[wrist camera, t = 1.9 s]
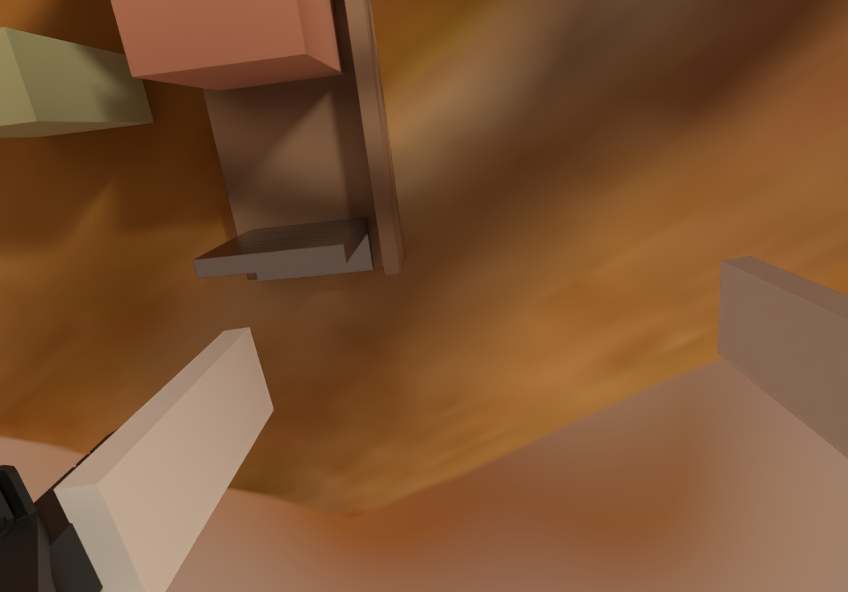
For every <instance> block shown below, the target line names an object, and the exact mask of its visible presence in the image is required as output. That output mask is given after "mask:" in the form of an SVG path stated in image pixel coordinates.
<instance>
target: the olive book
mask: <svg viewBox="0 0 848 592" xmlns="http://www.w3.org/2000/svg"><path fill="white" fill-rule="evenodd" d="M148 123H154V121H153V117H152V114H151V110H150V106H149V103H148V99H147V95H146V92H145V88H144V84H143V81H142V79H141V78H135V77H132V75H131V72H130V68H129V64H128V61H127V57H126V55H125V54H120V53H116V52H111V51H107V50H103V49H98V48H94V47H89V46H85V45H80V44H76V43H72V42H67V41H63V40H58V39H54V38H50V37H45V36H41V35H36V34H32V33H28V32H23V31H19V30H14V29H10V28H5V27H4V28H0V138H21V137H45V136H53V135H61V134H69V133H77V132H85V131H93V130H101V129H109V128H117V127H125V126H133V125H140V124H148Z"/></svg>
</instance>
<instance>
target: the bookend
mask: <svg viewBox="0 0 848 592" xmlns="http://www.w3.org/2000/svg"><path fill="white" fill-rule="evenodd" d="M193 262H194V265H195V269H196V273H197V276H198V278H206V277H216V276H226V275H235V274H245V273H255V272H256V274H257V278H258V281H268V280H278V279H288V278H298V277H308V276H318V275H328V274H338V273H348V272H358V271H368V270H373V269H374V263H373V257H372V250H371V244H370V237H369V230H368V224H367V217H363V218H353V219H344V220H335V221H326V222H316V223H307V224H298V225H289V226H279V227H270V228H261V229H252V230H248V231H247V232H245V233H243V234H241V235H239V236H237V237H235V238H233V239H232V240H230V241H228V242H226V243H224V244H222V245H220V246H219V247H217V248H215V249H213V250H211V251H209V252H207V253H205V254H204V255H202V256H200V257H198V258H196V259H194V260H193Z"/></svg>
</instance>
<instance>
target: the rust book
mask: <svg viewBox="0 0 848 592" xmlns="http://www.w3.org/2000/svg"><path fill="white" fill-rule="evenodd" d="M111 4H112V7H113V11H114V14H115V18H116V22H117V25H118V29H119V32H120V36H121V39H122V43H123V47H124V50H125V54H126V57H127V61H128V64H129V68H130V72H131V75H132V77H135V78H141V79H147V80H154V81H160V82H166V83H173V84H179V85H185V86H192V87H198V88H204V89H211V90H217V91H221V90H228V89H236V88H244V87H252V86H259V85H267V84H275V83H282V82H290V81H298V80H305V79H313V78H321V77H329V76H336V75H344V74H345V70H344V64H343V57H342V51H341V44H340V37H339V31H338V24H337V18H336V11H335V4H334V0H111Z"/></svg>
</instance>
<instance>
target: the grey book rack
mask: <svg viewBox="0 0 848 592" xmlns="http://www.w3.org/2000/svg"><path fill="white" fill-rule="evenodd" d="M334 4H335V11H336V18H337V24H338V31H339V37H340V44H341V51H342V57H343V64H344V70H345V74H344V75H336V76H329V77H321V78H313V79H305V80H298V81H290V82H282V83H275V84H267V85H259V86H252V87H244V88H236V89H228V90H221V91H217V90H211V89H204V88H202V90H203V94H204V98H205V102H206V106H207V111H208V115H209V119H210V123H211V127H212V131H213V136H214V140H215V144H216V148H217V152H218V156H219V161H220V165H221V169H222V173H223V177H224V182H225V186H226V190H227V194H228V198H229V202H230V207H231V211H232V215H233V219H234V223H235V228H236V232H237V236H239V235H241V234H243V233H245V232H247V231H248V230H252V229H261V228H270V227H279V226H289V225H298V224H307V223H316V222H326V221H335V220H344V219H353V218H363V217H367V224H368V230H369V237H370V244H371V250H372V257H373V263H374V267H381V266H383V267H384V274H385V276H388V275H398V274H400V273H401V270H402V266H403V263H404V259H405V257H404V249H403V242H402V234H401V226H400V219H399V211H398V203H397V196H396V188H395V180H394V173H393V165H392V157H391V150H390V142H389V134H388V127H387V119H386V111H385V104H384V96H383V88H382V81H381V73H380V65H379V58H378V50H377V42H376V35H375V27H374V19H373V12H372V4H371V0H334ZM247 278H248V280H252V279H258V278H257V274H256V272H255V273H247Z"/></svg>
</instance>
